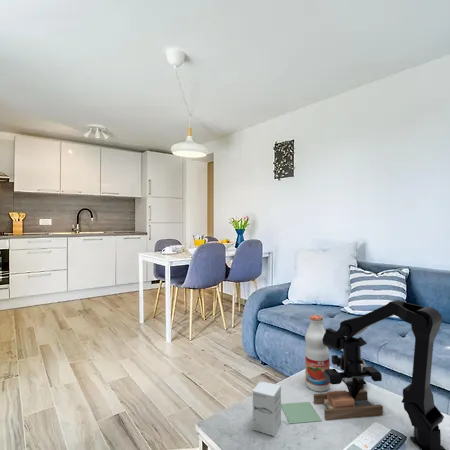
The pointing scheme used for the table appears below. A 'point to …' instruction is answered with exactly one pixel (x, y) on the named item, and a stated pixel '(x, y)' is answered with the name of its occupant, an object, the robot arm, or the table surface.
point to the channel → (349, 408)
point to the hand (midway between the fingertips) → (353, 399)
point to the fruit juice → (316, 356)
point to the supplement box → (267, 408)
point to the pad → (300, 412)
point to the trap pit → (362, 403)
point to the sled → (339, 399)
